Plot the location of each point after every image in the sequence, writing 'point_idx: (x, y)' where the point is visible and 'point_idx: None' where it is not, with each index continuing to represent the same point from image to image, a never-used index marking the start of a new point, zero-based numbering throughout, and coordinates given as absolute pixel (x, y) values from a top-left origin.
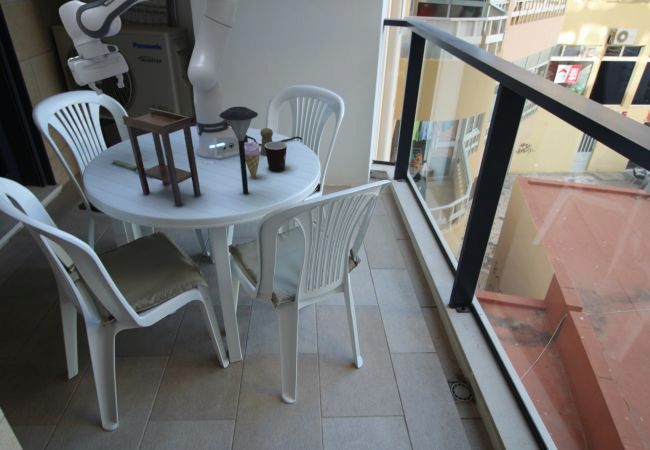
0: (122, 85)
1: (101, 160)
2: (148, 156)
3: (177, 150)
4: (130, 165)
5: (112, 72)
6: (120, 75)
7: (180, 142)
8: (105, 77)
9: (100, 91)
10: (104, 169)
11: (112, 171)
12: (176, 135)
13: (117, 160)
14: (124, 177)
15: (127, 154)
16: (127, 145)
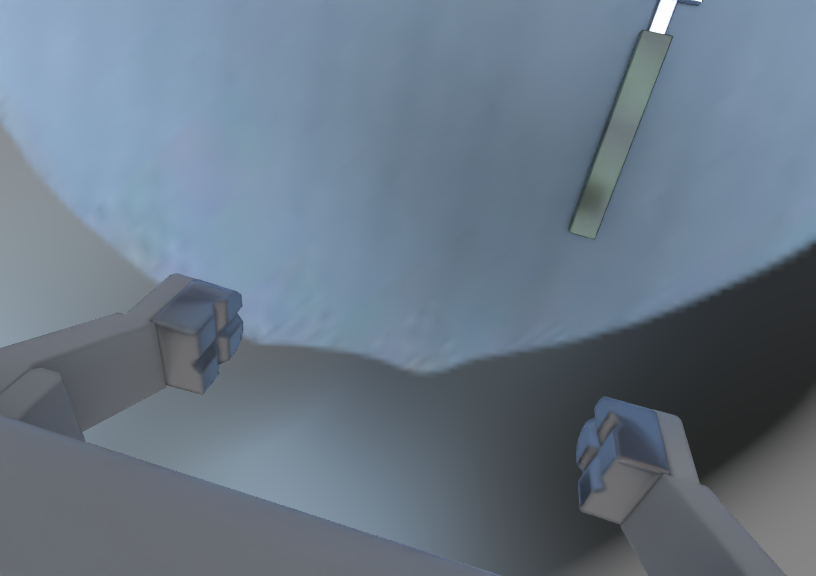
0: (194, 290)
1: (566, 319)
2: (442, 111)
3: (309, 3)
4: (634, 89)
5: (86, 538)
6: (2, 393)
7: (208, 71)
8: (404, 559)
9: (644, 437)
10: (682, 227)
11: (702, 165)
12: (144, 161)
13: (578, 216)
14: (783, 28)
15: (453, 243)
16: (351, 317)
